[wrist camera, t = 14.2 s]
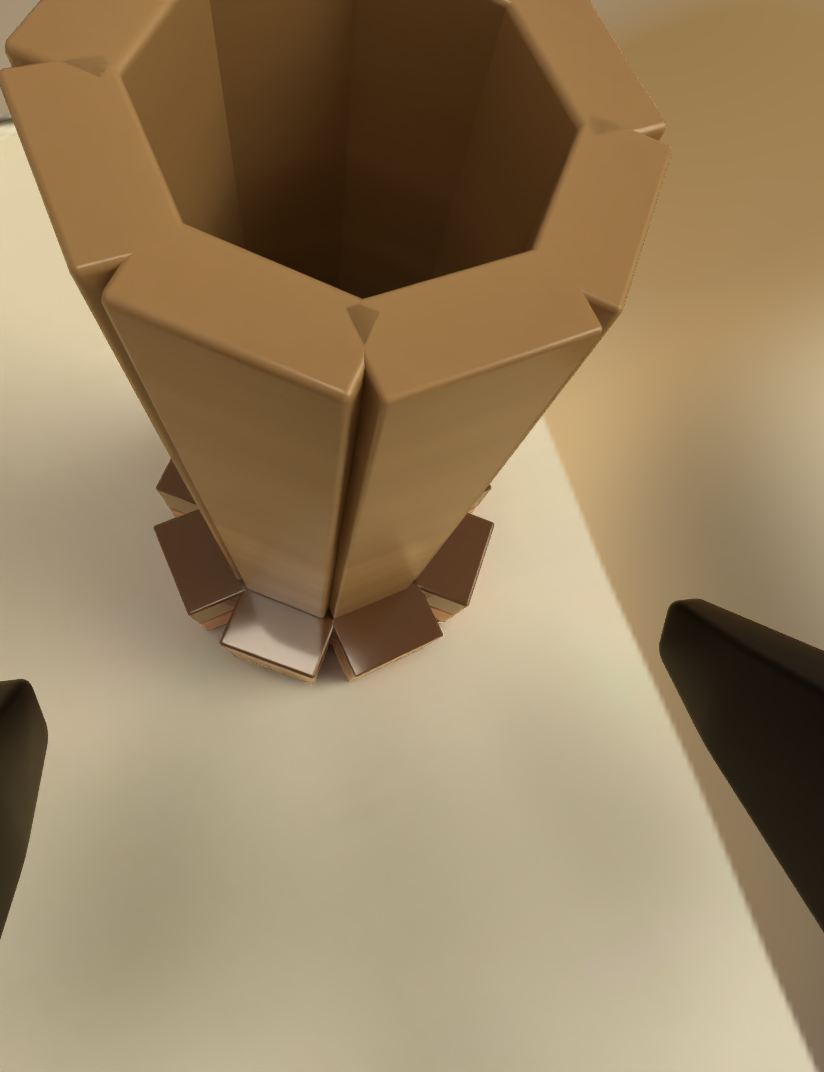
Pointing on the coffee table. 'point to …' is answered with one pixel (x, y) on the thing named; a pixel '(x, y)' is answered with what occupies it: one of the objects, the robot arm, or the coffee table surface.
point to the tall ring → (339, 248)
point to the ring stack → (301, 637)
